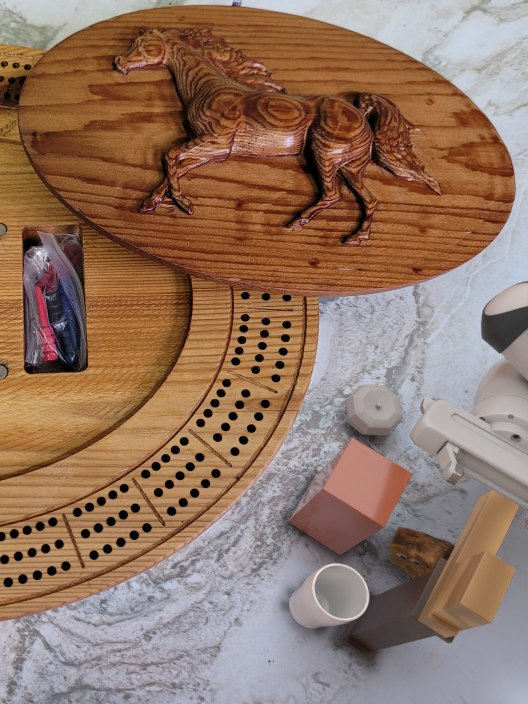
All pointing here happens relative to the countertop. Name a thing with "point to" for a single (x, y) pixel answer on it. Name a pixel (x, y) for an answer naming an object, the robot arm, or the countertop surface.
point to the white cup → (330, 597)
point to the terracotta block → (350, 497)
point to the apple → (373, 410)
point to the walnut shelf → (394, 616)
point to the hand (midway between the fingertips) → (492, 502)
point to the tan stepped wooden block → (473, 571)
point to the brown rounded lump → (417, 551)
